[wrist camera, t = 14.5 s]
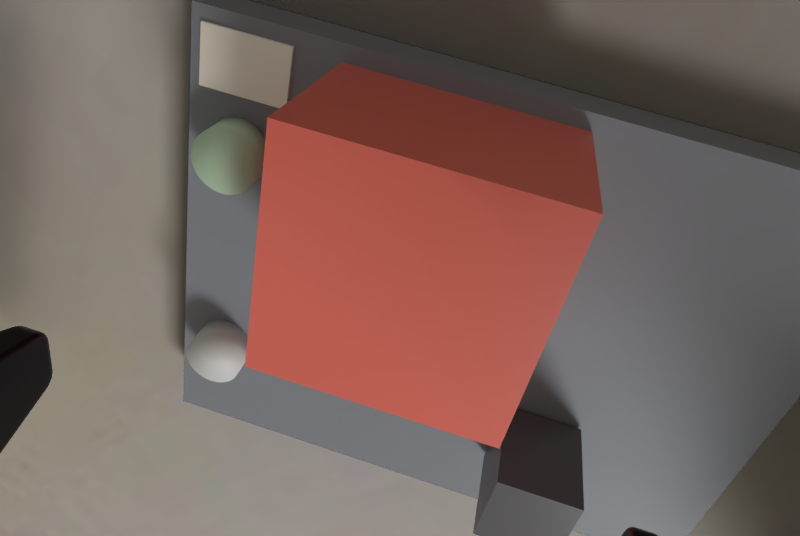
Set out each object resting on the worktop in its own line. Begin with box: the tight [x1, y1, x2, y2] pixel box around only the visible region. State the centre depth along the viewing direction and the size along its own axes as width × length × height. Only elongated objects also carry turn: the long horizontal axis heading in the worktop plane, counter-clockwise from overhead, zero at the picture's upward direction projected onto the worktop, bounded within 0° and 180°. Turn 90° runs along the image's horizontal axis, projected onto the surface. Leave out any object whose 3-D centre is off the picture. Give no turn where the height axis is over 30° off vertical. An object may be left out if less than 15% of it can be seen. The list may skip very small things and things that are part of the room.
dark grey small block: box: [473, 409, 584, 536], centre depth 18 cm, size 2×2×3 cm
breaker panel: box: [183, 0, 800, 536], centre depth 18 cm, size 18×14×2 cm
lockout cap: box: [245, 62, 603, 449], centre depth 14 cm, size 6×6×4 cm
